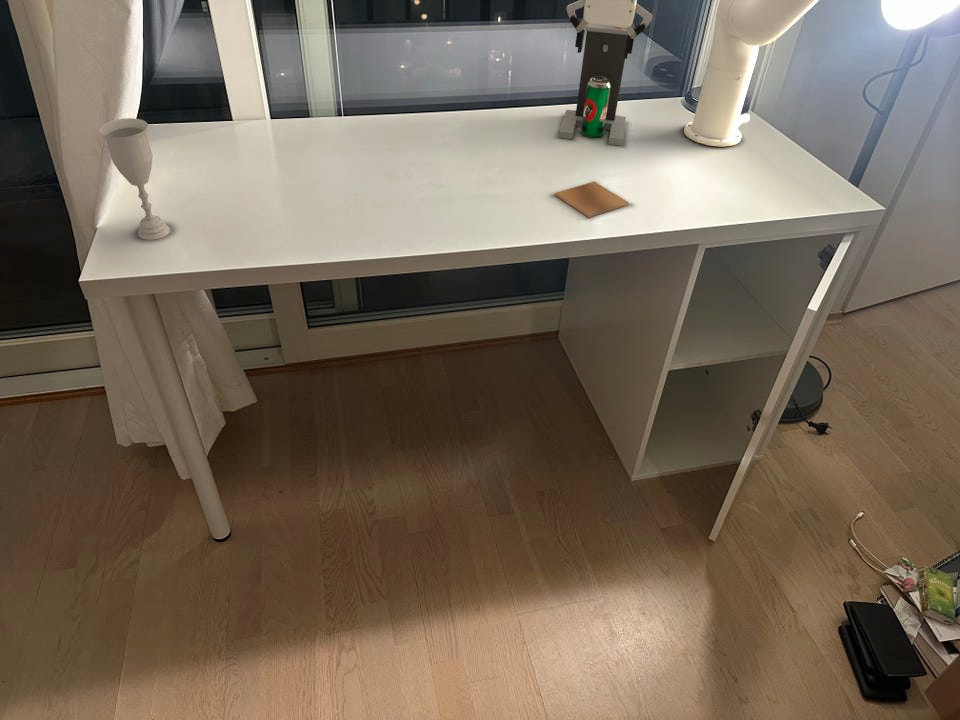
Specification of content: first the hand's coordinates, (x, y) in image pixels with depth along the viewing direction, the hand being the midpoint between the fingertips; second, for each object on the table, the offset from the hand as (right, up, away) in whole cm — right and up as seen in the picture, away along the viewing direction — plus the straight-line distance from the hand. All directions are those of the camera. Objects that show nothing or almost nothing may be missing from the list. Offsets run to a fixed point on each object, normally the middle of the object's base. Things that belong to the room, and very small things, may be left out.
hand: (602, 53), depth 147 cm
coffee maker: (0, -12, +13) cm, 18 cm away
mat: (-4, -34, -13) cm, 36 cm away
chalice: (-81, -43, -28) cm, 95 cm away
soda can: (-1, -13, +11) cm, 18 cm away
